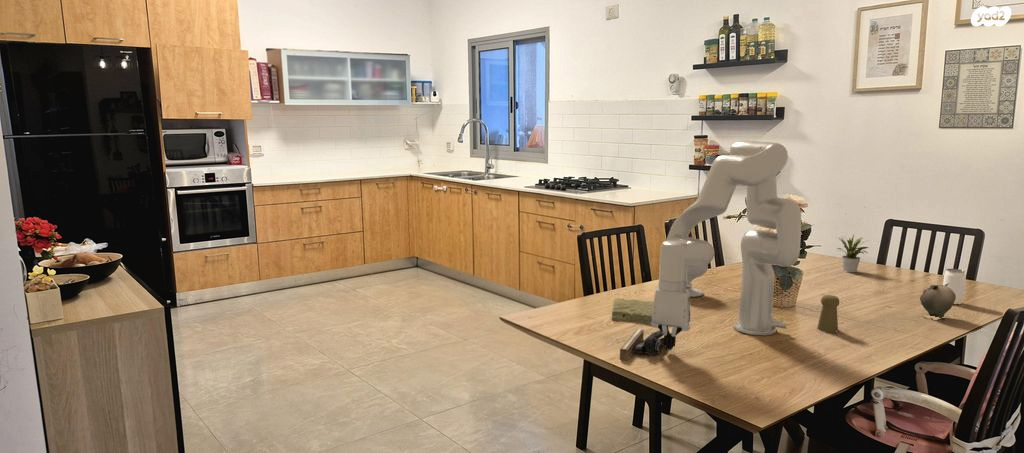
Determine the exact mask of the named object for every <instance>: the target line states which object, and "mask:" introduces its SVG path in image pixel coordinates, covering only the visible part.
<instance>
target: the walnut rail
mask: <svg viewBox="0 0 1024 453" xmlns="http://www.w3.org/2000/svg"><path fill="white" fill-rule="evenodd" d="M644 332H645V330H644V329H642V328H637V329H636V330H635V331H634V332H632V335H630V337H629V338H628V339H627V340H626V341H625V342H624V344H623V345H622V346H621V347H620V348H619V360H623V361H628V360H629V358H630V357H631V356H632V355H633V353H634V352H635V347H636V345H638V344H641V343H643V342H644V334H645V333H644Z"/></svg>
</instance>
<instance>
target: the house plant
mask: <svg viewBox="0 0 1024 453" xmlns="http://www.w3.org/2000/svg"><path fill="white" fill-rule="evenodd" d="M854 237H855V234H853V235H852V237H851V238H850V237H848V239H846V241H845V240H844V238H845V236H844V235H842V237H841V238H840V237H837V239H839V240H840V241H841V242H842V244H843V248H844V249H845V250H846V251H845V250H844V249H843V248H841V247H837V248H836V250H837V251H838V252H844V253H845V255H842V256H841V261H842V262H841V263H842V271H843V270H844V271H847V272H846V273H849V272H856V271H858V267H859V264H860V262H861V261H860V260H861V257H860V256H858V255H859V254H861V253H862V254H863V255H865V254H869V253H868V252H867V251H866V249H870V246H869V247H868V246H861V247H860V245H862V244H863V243H865V242H868V241H870V240H865V241H862V239H863V238H864V237H862V236H859V237H858V238H857V239H856V240H855V241H854ZM858 245H859V246H858ZM844 271H843V272H844ZM856 273H857V272H856Z"/></svg>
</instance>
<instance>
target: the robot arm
mask: <svg viewBox="0 0 1024 453" xmlns="http://www.w3.org/2000/svg"><path fill="white" fill-rule="evenodd" d="M788 158H789V153H788V151H787V148H786V147H785V146H784V145H783V144H781V143H778V142H770V141H769V142H768V141H756V140H754V141H753V140H741V141H737V142H734V143H733V144H732V145H731V147H730V149H729V154H722V155H719V156H717V157H715V159H714V160H713V162H712V164H711V166H710V169H709V172H708V173H707V176H706V178H705V181H704V183H703V185H702V188H701V191H700V193H699V196H698V197H697V200H695V201H694V203H692V204H691V205H689V206H688V207H687V208H685V209H684V210H683V211H682V212H681V214H679V215H678V216H677V217H676V219H675V220H674V222H673V223H672V225H671V228H670V229H669V232H668V234H667V237H666V239H665V241H663V242H662V243H661V244H660V247H659V248H660V250H659V269H658V270H659V272H658V273H659V274H658V287H656V289H655V292H654V297H653V301H654V302H653V310H652V323H650V326H651V327H654V328H657V329H658V330H660V331H661V332H662V333H663V337H664V344H663V346H665V350H669V351H672V349H673V348H674V347H675V346H676V342H677V341H676V339H677V338H676V336H677V335H679V334H680V333H681V332H689V331H690V330H691V326H690V321H691V297H690V294H689V291H688V290H686V289H687V288H693V284H692V282H691V283H688V282H687V267H689V266H695V267H701V266H705V265H707V264H708V265H709V264H710V263H711V262H712V261H713V260H714V257H715V248H714V246H713V245H712V244H711V243H710V242H708V241H707V240H704V239H700V238H694V237H691V236H689V235H690V234H691V232H692V230H693V229H694V228H695V227H696V226H697V225H698V224H700V223H702V222H703V221H706V220H709V219H712V218H715V217H717V216H720V215H723V214H724V213H725V212H726V211H727V209H728V207H729V205H730V203H731V199H732V197H733V195H734V193H735V189H736V188H737V186H741V187H746V219H747V221H748V223H749V224H751V225H753V226H755V227H760V228H766V229H771V230H776V232H775V231H768V230H761V229H752V230H751V229H750V230H749V231H747V232H745V234H744V235H743V236H742V237H741V241H740V252H741V260H742V273H741V286H740V287H741V289H740V303H739V318H738V319H739V320H737V321H734V323H733V328H734V330H736V331H737V332H740V333H744V334H747V335H750V336H751V335H753V336H771V335H774V334H775V333H776V332H777V328H779V329H783V330H787V327H788V326H787V325H788V322H786V321H785V322H784V321H783V320H777V319H775V318H774V314H773V305H774V291H775V278H776V276H775V271H774V268H773V266H774V265H775V266H779V267H785V268H786V267H787V268H788V267H792V266H793V265H795V264H796V263H797V261H798V259H799V257H800V252H801V237H802V236H801V235H802V212H801V209H800V206H799V204H798V203H797V202H796V201H794V200H792V199H790V198H783V197H779V196H778V195H777V194H778V192H777V190H778V189H777V184H778V183H777V178H776V175H777V174H779V172H781V171H782V170H783V169H784V167H785V166H786V164H787V162H788ZM772 265H773V266H772ZM670 327H672V329H671V332H670V329H669V328H670Z"/></svg>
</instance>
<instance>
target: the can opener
mask: <svg viewBox="0 0 1024 453" xmlns="http://www.w3.org/2000/svg"><path fill="white" fill-rule="evenodd" d="M661 346H664V335H663V333H662V332H661V331H660V329H658V330H657V331H654V332H653V331H652V332H651V334H650V335H648V336H647V337H646V338H645V339H643V342H641V343H640V344H638V345H636V347H635V351H634V352H635V353H637V354H643V355H645V354H648V355H652V356H653V355H658V354H660V347H661Z"/></svg>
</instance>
